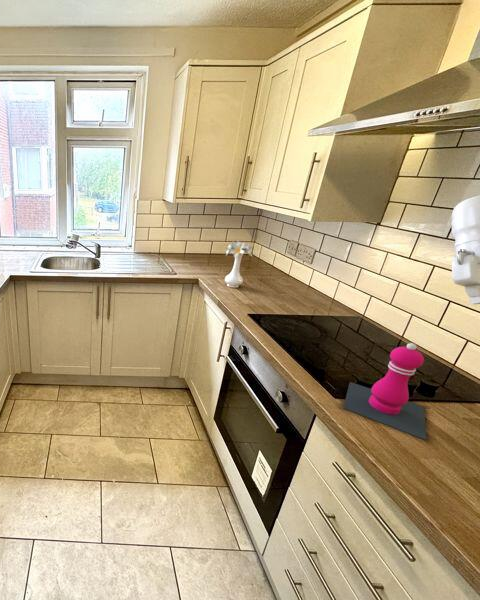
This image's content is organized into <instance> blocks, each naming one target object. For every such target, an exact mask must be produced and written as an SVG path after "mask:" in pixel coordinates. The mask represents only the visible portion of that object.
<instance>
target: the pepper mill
mask: <svg viewBox="0 0 480 600" xmlns="http://www.w3.org/2000/svg"><path fill="white" fill-rule="evenodd" d="M417 348H418V346H417V344H416V343H413V342H410V343H407V344H406V346H398V347H395V348H394V349H392V350H391V352H390V354H389V358H390V360H389V363H388V365H387V367H388V371H387V372H386V374H385V375H384V376H383V377H382V378H380V379H378V381H376V382H375V383H374V384H373V385H372V386H371V388H370V389H371V392H372V394H373V395H372V396H371V397H370V399H369V404H370V405H371V406H372V407H373V408H375V409H376V410H378V411H380V412H383V413H386V414H390V415H396V414H398V413H399V412H400V410H401V405H404V404H406V403H407V402H409V399H410V393H409V387H408V386H409V385H408V384H409V379H410V377H411V376H414V375H415V372H417V368H420V367H421V366H422V365H423V364H424V360H425V358H424V355H423V354H422V352H420V351H419V350H417Z"/></svg>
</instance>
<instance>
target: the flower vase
mask: <svg viewBox="0 0 480 600" xmlns="http://www.w3.org/2000/svg"><path fill="white" fill-rule="evenodd" d="M226 249H227V250H226V252H225V257H227V256H228V255H229V254H232V255H233V257H234V262H233V267H232V270H231V271H230V273H229V274H227V275H226V276H225V278H224V282H225V283H226V287H229V288H234V289H235V288H239V287H240V286H241V285H242V284H243V283H244V279H243V276H242V275H241V273H240V268H241V267H240V266H241V262H242V258H243V256H244V255H245V254H244V253H246V254H248V255H249V256H250V257H253V254H252V252H253V249H252V246H251V244H250V242H249V243H248V245H247V244H246V242H245V241H244V242H241V241H239V240H238V241H236V242H235V240H233V241H232V242H230V244H229V245H228V246H226Z"/></svg>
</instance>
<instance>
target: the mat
mask: <svg viewBox="0 0 480 600" xmlns="http://www.w3.org/2000/svg"><path fill="white" fill-rule="evenodd" d="M348 383H349V384H348V388H347V392H346V395H345V400H344V404H343V407H342V408H343V409H344V410H347V411H349V412H352V413H354V414H357V415H360V416H361V417H364V418H367V419H370V420H372V421H375V422H378V423H380V424H383V425H385V426H388V427H391V428H392V429H396V430H399V431H401V432H403V433H405V434H409V435H411V436H414V437H417V438H419V439H421V440H423V441H427V440H428V439H427V430H426V419H425V418H426V417H425V408H424V406H422V405H420V404H418V403H417V404H416V403H413V402H412V401H411V402H410V401H408V402H407V403H406V404H404V405H401V410H400V412H399V413H398V414H396V415H390V414H386V413H383V412H380V411H378V410H376V409H375V408H373V407H372V406H371V405H370V404H369V399H370V397H371V396H372V395H373V394H372V392H371V389H372V388H370V387H368V386H367V387H366V386H363V385H361V384H357V383H356V382H352V381H349V382H348Z"/></svg>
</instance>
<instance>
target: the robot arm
mask: <svg viewBox="0 0 480 600" xmlns="http://www.w3.org/2000/svg"><path fill="white" fill-rule="evenodd" d="M450 222H451V234H452V236H453V238H454V241H455V242H454V245H453V252H454V257H453V259H452V261H451V278H452V282H453V283H454V284H455V285H456V286H457V285H458V286H460V287H464V291H465V293H466V294H467V296H468V298H469V304H471V305H480V194H478V195H474V196H471V197H468V198H466V199H464V200H462V201H460V202H459V203H457V204H456V205H455V206H454V207H453V210H452V213H451V221H450Z"/></svg>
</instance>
